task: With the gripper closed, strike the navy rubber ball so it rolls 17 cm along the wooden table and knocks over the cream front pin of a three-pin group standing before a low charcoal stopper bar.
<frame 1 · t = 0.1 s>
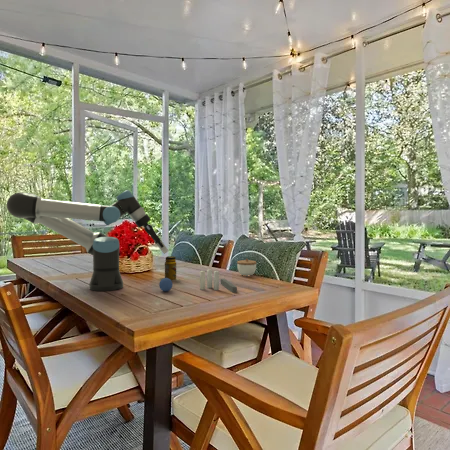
hand: (164, 250, 196), 15 cm above the table, tool tilted 35°, fingers open, 13 cm apart
back pin left: (209, 287, 178), on the table
front pin: (202, 289, 175), on the table
lidded jar: (246, 275, 211), on the table
ball: (165, 284, 170), on the table
back pin right: (216, 289, 174), on the table
condiment: (168, 280, 197), on the table
stopper bar: (228, 287, 178), on the table
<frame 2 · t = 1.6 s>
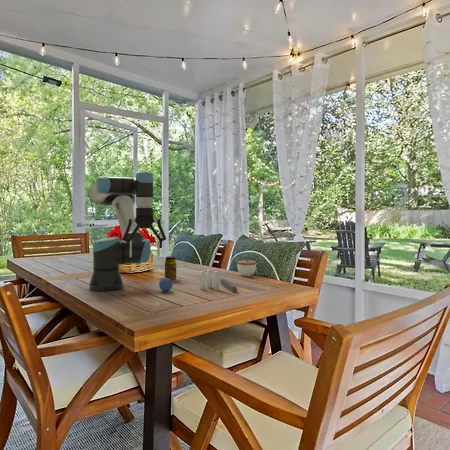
hand: (144, 256, 167), 16 cm above the table, tool pointing down, fingers open, 11 cm apart
nothing on the table moved.
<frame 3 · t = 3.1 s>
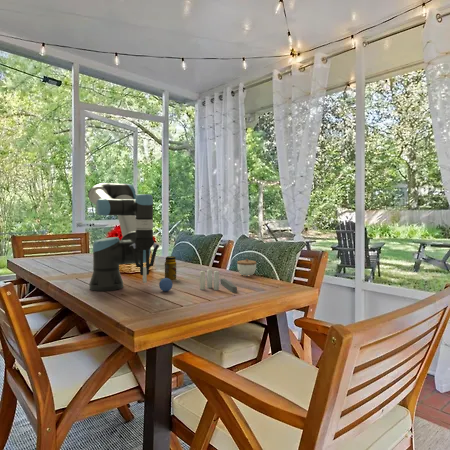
hand: (144, 282, 167), 5 cm above the table, tool pointing down, fingers closed
nothing on the table moved.
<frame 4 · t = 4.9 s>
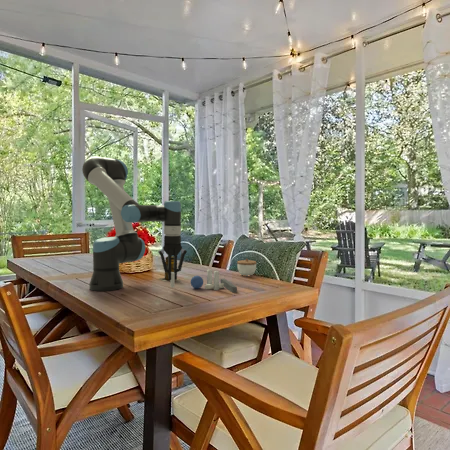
hand: (172, 286, 171), 2 cm above the table, tool pointing down, fingers closed
front pin: (205, 286, 175), point 1 cm above the table, tilted 90°
ball: (196, 282, 176), on the table
everything else where it was.
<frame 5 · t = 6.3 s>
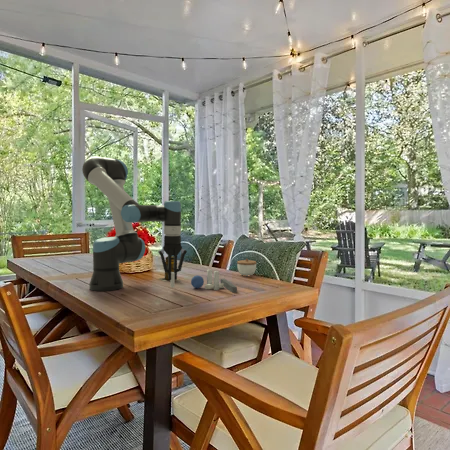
hand: (172, 286, 171), 2 cm above the table, tool pointing down, fingers closed
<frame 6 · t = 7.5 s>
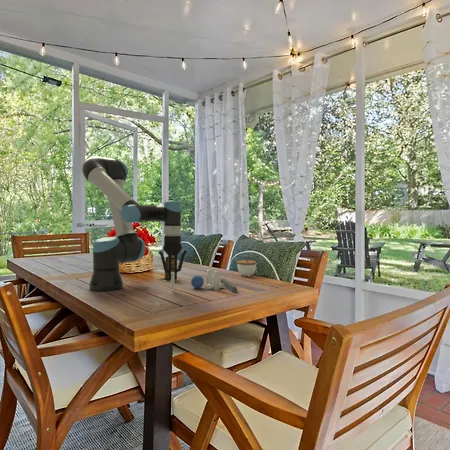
hand: (172, 286, 171), 2 cm above the table, tool pointing down, fingers closed
nothing on the table moved.
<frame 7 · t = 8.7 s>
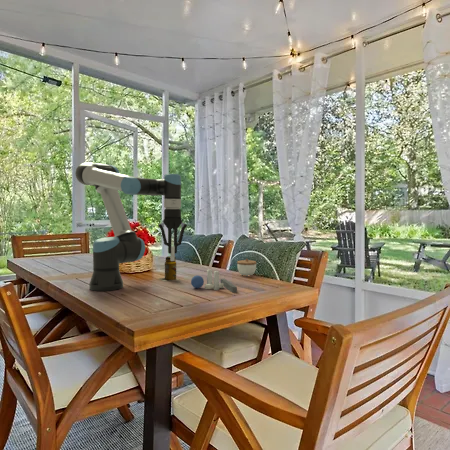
hand: (172, 260, 170), 14 cm above the table, tool pointing down, fingers closed
nothing on the table moved.
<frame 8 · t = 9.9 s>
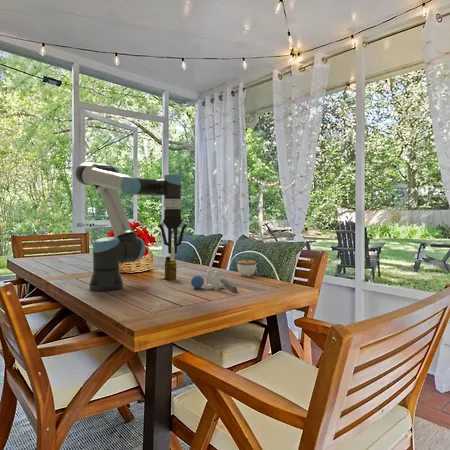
hand: (172, 260, 170), 14 cm above the table, tool pointing down, fingers closed
nothing on the table moved.
at the end: front pin tilted 90°; front pin never touched the robot; ball moved 15.5 cm from its start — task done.
